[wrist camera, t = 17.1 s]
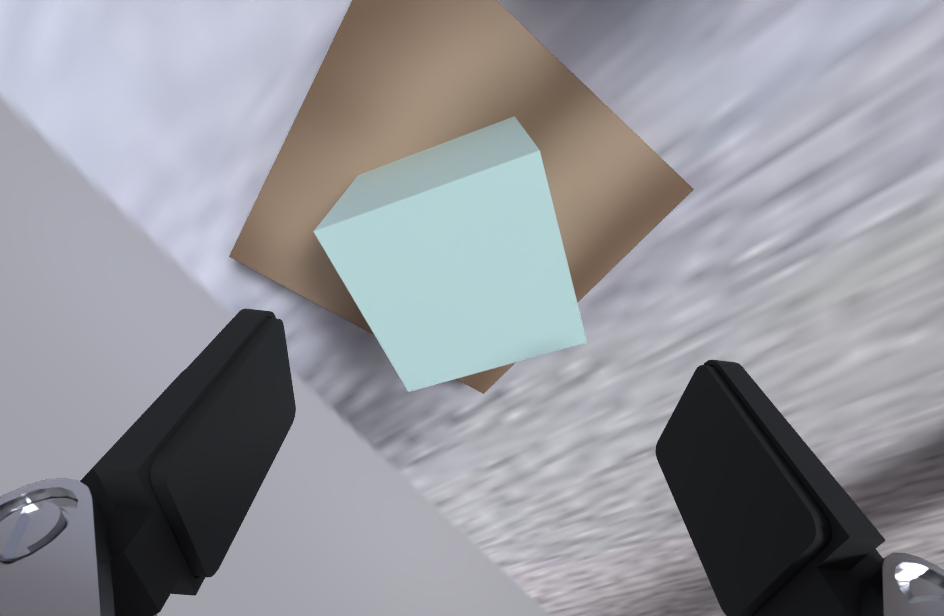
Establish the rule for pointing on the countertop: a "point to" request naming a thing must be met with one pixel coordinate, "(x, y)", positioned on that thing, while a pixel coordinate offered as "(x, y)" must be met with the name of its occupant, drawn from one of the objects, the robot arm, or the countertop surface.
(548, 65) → the wooden peg base
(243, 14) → the countertop surface
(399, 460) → the countertop surface
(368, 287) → the pale blue cube
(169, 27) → the countertop surface
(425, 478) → the countertop surface
